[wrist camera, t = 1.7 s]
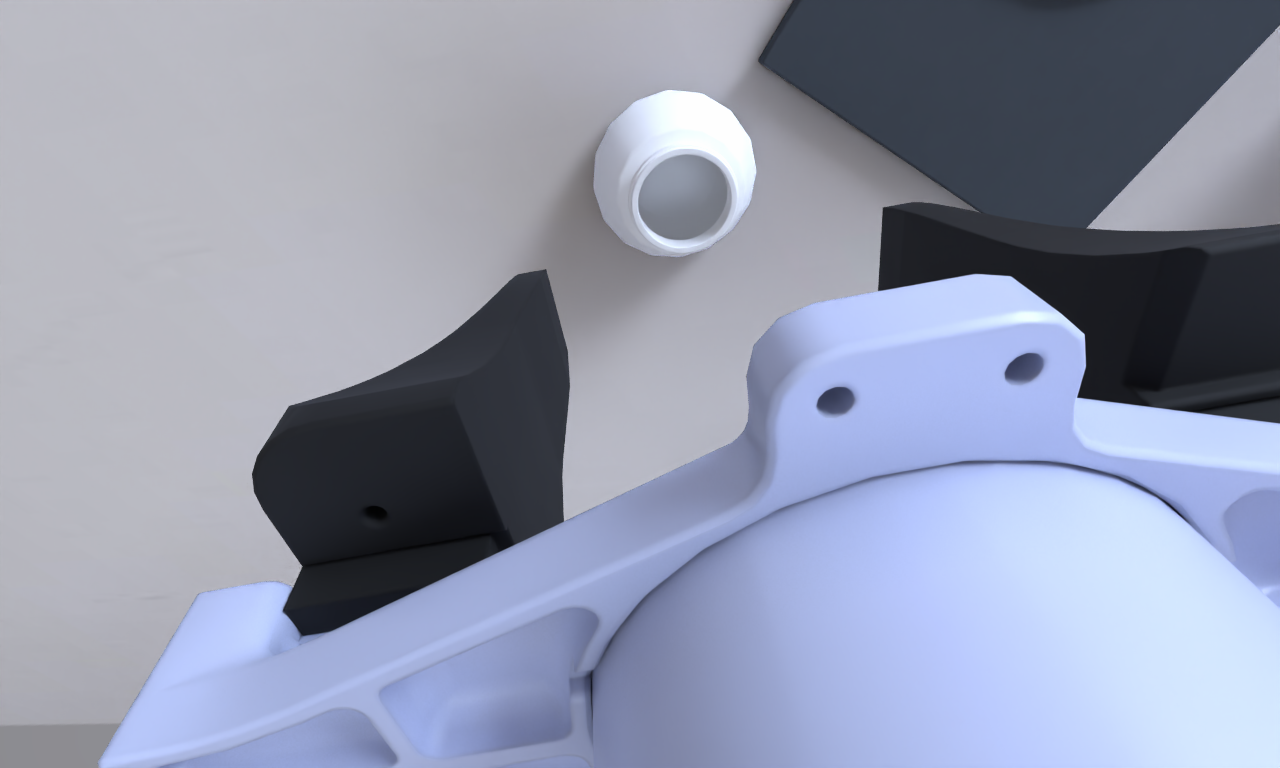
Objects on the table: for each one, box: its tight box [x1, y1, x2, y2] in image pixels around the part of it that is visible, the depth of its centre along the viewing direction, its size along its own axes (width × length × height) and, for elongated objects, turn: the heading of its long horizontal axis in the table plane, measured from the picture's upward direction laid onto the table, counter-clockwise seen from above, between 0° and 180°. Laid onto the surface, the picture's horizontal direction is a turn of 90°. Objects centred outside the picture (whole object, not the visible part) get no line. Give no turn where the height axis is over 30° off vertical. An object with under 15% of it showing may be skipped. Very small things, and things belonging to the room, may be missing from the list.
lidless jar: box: [593, 90, 756, 257], centre depth 19 cm, size 5×3×5 cm
